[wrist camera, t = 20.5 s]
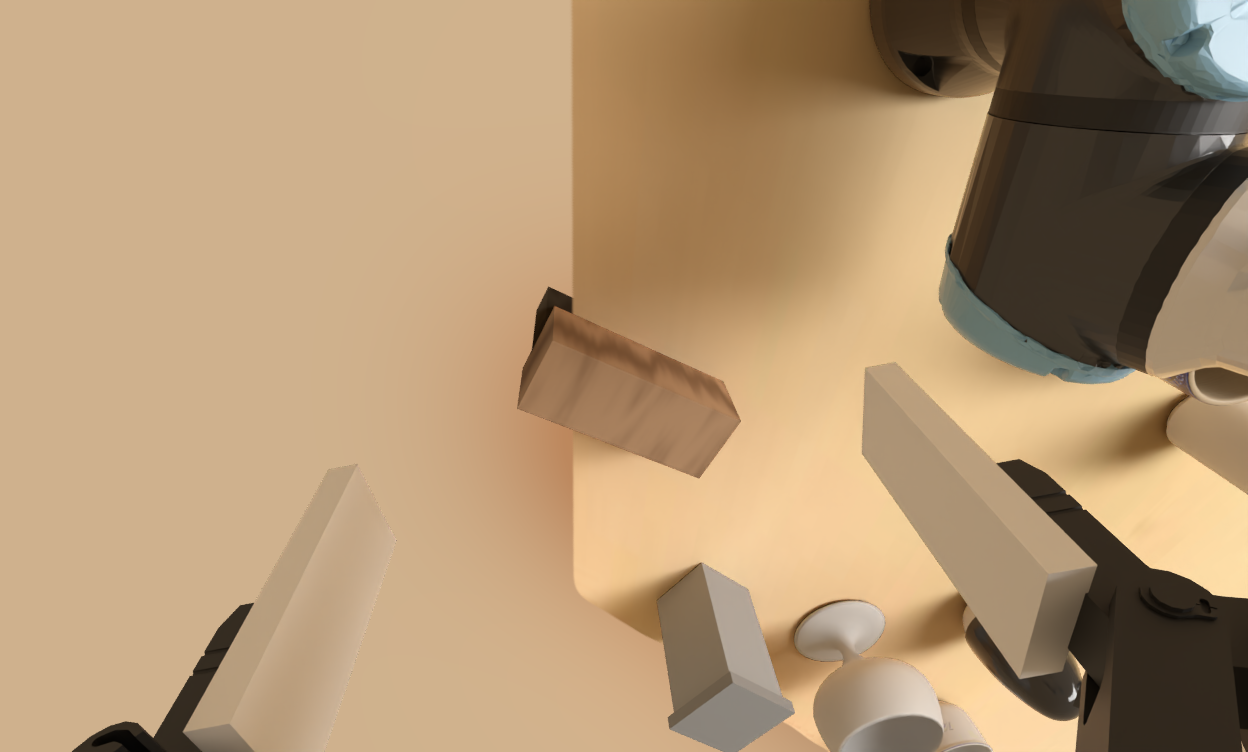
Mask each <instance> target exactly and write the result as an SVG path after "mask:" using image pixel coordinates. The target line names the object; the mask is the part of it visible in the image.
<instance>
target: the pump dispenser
mask: <svg viewBox="0 0 1248 752" xmlns="http://www.w3.org/2000/svg"><path fill="white" fill-rule="evenodd" d="M963 627H964V631H965V637H966V641H967V643H968V645H969V647H970V648H971V650H972V651H973V652H974V654H975V655H976V656H977V658H978V659H979V660H980V661H981V662H982V663H983V665H984V666H985V667H986V668H987V669H988V670H989V671H990V673H991V674H992V675H993V676H994V677H995V678H996V679H997V680H998V681H999V682H1000V683H1001V684H1002V685H1004V686H1005V687H1006V688H1007V689H1008V690H1009V691H1010V692H1012V693H1013V694H1014V695H1015V696H1016V697H1018V698H1019V699H1020V700H1021V701H1023V702H1024V703H1025V704H1027V705H1028V706H1030V707H1031V708H1032V709H1034V710H1035V711H1037V712H1039V713H1040V714H1042V715H1044V716H1046V717H1048V718H1050V719H1053V720H1058V721H1068V720H1072V719H1075V718H1077V717H1078V716H1079V708H1077V707H1074V706H1073V704H1074V701H1075V698H1076V695H1077V693H1078V690H1079V687H1080V684H1081V682H1082V677H1081V673H1080V670H1079V667H1078V664H1077V662H1076V659H1075V657H1074V656H1073V654H1072V653H1071V652H1070V651H1069V652H1068V655H1067V658H1066V661H1065V665H1064V668H1063V671H1062V672H1057V673H1051V674H1045V675H1040V676H1034V677H1029V678H1023V679H1019V678H1018V676H1017V675H1016V673H1015V672H1014V670H1013V669H1012V668H1011V666H1010V665H1009V663H1008V662H1007V660H1006V659H1005V658H1004V656H1003V655H1002V653H1001V652H1000V650H999V649H998V648H997V646H996V645H995V643H994V642H993V640H992V639H991V638H990V636H989V635H988V633H987V632H986V630H985V629H984V628H983V626H982V625H981V623H980V622H979V620H978V619H977V618H976V616H975V615H974V613H973V612H972V610H971V609H970V608H969V606H968V605H967V606H966V608H965V610H964V613H963Z"/></svg>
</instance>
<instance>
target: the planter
mask: <svg viewBox="0 0 1248 752" xmlns="http://www.w3.org/2000/svg"><path fill="white" fill-rule="evenodd" d="M1159 379H1161V380H1163V381H1164V382H1166V383H1168V384H1170V385H1171V386H1173V387H1175V388H1177V389H1178V390H1180V391H1182V392H1184V393H1185V394H1187V395H1189V396H1191V397H1193V398H1195V399H1197V400H1199V401H1201V402H1203V403H1206V404H1210V405H1216V406H1226V405H1234V404H1239V403H1243V402H1246V401H1248V376H1245V375H1242V374H1239V373H1236V372H1233V371H1230V370H1227V369H1224V368H1221V367H1211V368H1202V369H1199V370H1195V371H1191V372H1187V373H1183V374H1179V375H1175V376H1172V377H1168V378H1159Z"/></svg>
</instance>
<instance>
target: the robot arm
mask: <svg viewBox="0 0 1248 752" xmlns="http://www.w3.org/2000/svg"><path fill="white" fill-rule="evenodd" d="M870 17H871V25H872V30H873V35H874V39H875V42H876V45H877V47H878V50H879V52H880V54H881V56H882V58H883V60H884V62H885V63H886V65H887V66H888V67H889V69H890V70H891V71H892V72H893V74H894V75H895V76H896V77H898V78H899V79H900V80H901V81H902V82H904V83H905V84H907V85H908V86H910V87H912V88H914V89H915V90H918V91H920V92H924V93H927V94H932V95H938V96H944V97H952V98H965V97H974V96H980V95H984V94H988V93H991V92H994V95H993V98H992V102H991V105H990V109H989V111H988V113H987V117H986V120H985V124H984V127H983V130H982V134H981V137H980V141H979V144H978V148H977V151H976V154H975V158H974V161H973V165H972V168H971V172H970V175H969V178H968V182H967V185H966V189H965V192H964V196H963V199H962V202H961V206H960V209H959V213H958V216H957V220H956V223H955V226H954V230H953V233H952V234H951V235H950V236H949V237H948V240H947V243H946V247H945V257H946V261H945V265H944V270H943V274H942V278H941V282H940V287H939V301H940V303H941V305H942V310H943V312H944V315H945V317H946V319H947V320H948V321H949V323H950V324H951V325H952V326H953V328H954V329H955V330H956V331H957V332H958V333H959V334H960V335H962V336H963V337H964V338H965V339H966V340H968V341H969V342H970V343H972V344H973V345H975V346H976V347H978V348H979V349H981V350H983V351H984V352H986V353H988V354H989V355H991V356H993V357H995V358H997V359H999V360H1001V361H1003V362H1005V363H1007V364H1010V365H1012V366H1014V367H1017V368H1019V369H1022V370H1025V371H1028V372H1031V373H1034V374H1037V375H1041V376H1046V375H1048V374H1049V373H1052V374H1054V375H1056V376H1057V377H1059V378H1060V379H1062V380H1063V381H1066V382H1073V383H1081V384H1101V383H1111V382H1114V381H1117V380H1120V379H1122V378H1124V377H1126V376H1127V375H1128V374H1130V373H1132V372H1134V371H1135V370H1138V371H1141V372H1143V373H1146V374H1149V375H1151V376H1155V377H1158V378H1168V377H1172V376H1175V375H1179V374H1183V373H1187V372H1191V371H1195V370H1199V369H1202V368H1211V367H1221V368H1224V369H1227V370H1230V371H1233V372H1236V373H1239V374H1242V375H1245V376H1248V0H870ZM862 454H863V456H864V457H865V459H866V460H867V462H868V463H869V464H870V466H871V467H872V469H873V470H874V472H875V473H876V474H877V476H878V477H879V479H880V480H881V482H882V483H883V485H884V486H885V487H886V489H887V490H888V492H889V493H890V495H891V496H892V497H893V499H894V500H895V502H896V503H897V505H898V506H899V507H900V509H901V510H902V512H903V513H904V515H905V516H906V517H907V519H908V520H909V522H910V523H911V525H912V526H913V527H914V529H915V530H916V532H917V533H918V535H919V536H920V537H921V539H922V540H923V542H924V543H925V545H926V546H927V547H928V549H929V550H930V552H931V553H932V555H933V556H934V557H935V559H936V560H937V562H938V563H939V565H940V566H941V567H942V569H943V570H944V572H945V573H946V575H947V576H948V577H949V579H950V580H951V582H952V583H953V585H954V586H955V587H956V589H957V590H958V592H959V593H960V595H961V596H962V597H963V599H964V600H965V602H966V603H967V605H968V606H969V608H970V609H971V610H972V612H973V613H974V615H975V616H976V618H977V619H978V620H979V622H980V623H981V625H982V626H983V628H984V629H985V630H986V632H987V633H988V635H989V636H990V638H991V639H992V640H993V642H994V643H995V645H996V646H997V648H998V649H999V650H1000V652H1001V653H1002V655H1003V656H1004V658H1005V659H1006V660H1007V662H1008V663H1009V665H1010V666H1011V668H1012V669H1013V670H1014V672H1015V673H1016V675H1017V676H1018V678H1019V679H1023V678H1029V677H1034V676H1040V675H1045V674H1051V673H1057V672H1062V671H1063V668H1064V665H1065V661H1066V658H1067V655H1068V652H1069V651H1070V652H1071V653H1072V654H1073V656H1074V657H1075V658H1076V659H1077V660H1078V662H1079V663H1080V664H1081V665H1082V667H1083V668H1084V669H1085V670H1086V671H1085V674H1084V676H1083V679H1082V682H1081V684H1080V687H1079V690H1078V693H1077V695H1076V698H1075V701H1074V704H1073V706H1074V707H1077V708H1079V719H1078V730H1077V741H1076V752H1242V744H1243V746H1244V748H1245V750H1246V752H1248V599H1246V598H1234V597H1223V596H1216V595H1212V594H1211V593H1210V592H1209V591H1208V590H1206V589H1204V588H1203V587H1201V586H1200V585H1198V584H1196V583H1195V582H1193V581H1192V580H1190V579H1188V578H1185V577H1182V576H1180V575H1177V574H1174V573H1172V572H1169V571H1163V570H1157V569H1152V568H1149V567H1148V566H1147V565H1145V564H1144V563H1143V562H1142V561H1141V560H1140V559H1139V558H1138V557H1137V556H1136V555H1135V554H1133V553H1132V552H1131V551H1130V550H1129V549H1128V548H1127V547H1126V546H1125V545H1124V544H1123V543H1121V542H1120V541H1119V540H1118V539H1117V538H1116V537H1115V536H1114V535H1113V534H1112V533H1111V532H1110V531H1108V530H1107V529H1106V528H1105V527H1104V526H1103V525H1102V524H1101V523H1100V522H1099V521H1098V520H1096V519H1095V518H1094V517H1093V516H1092V515H1091V514H1090V513H1089V512H1088V511H1087V510H1083V509H1082V506H1081V505H1080V504H1079V503H1078V502H1077V501H1076V500H1075V499H1074V498H1072V497H1071V496H1070V495H1067V494H1066V491H1065V490H1064V489H1063V488H1062V487H1061V486H1059V485H1058V484H1057V483H1056V482H1055V481H1054V480H1053V479H1052V478H1051V477H1050V476H1049V475H1047V474H1046V473H1045V472H1043V471H1041V470H1039V469H1037V468H1035V467H1033V466H1031V465H1029V464H1027V463H1025V462H1024V461H1022V460H1020V459H1017V460H1012V461H1006V462H1001V463H995V462H994V461H993V460H992V459H991V458H990V457H989V456H988V455H987V454H986V453H985V452H984V451H983V450H982V449H981V448H980V447H979V446H978V445H977V444H976V443H975V442H974V441H973V440H972V439H971V438H970V437H969V436H968V435H967V434H966V433H965V432H964V431H963V430H962V429H961V428H960V427H959V426H958V425H957V424H956V423H955V422H954V421H953V420H952V419H951V418H950V417H949V416H948V415H947V414H946V413H945V412H944V411H943V410H942V409H941V408H940V407H939V406H938V405H937V404H936V403H935V402H934V401H933V400H932V399H931V398H930V397H929V396H928V395H927V394H926V393H925V392H924V391H923V390H922V389H921V388H920V387H919V386H918V385H917V384H916V383H915V382H914V381H913V380H912V379H911V378H910V377H909V375H908V374H907V373H906V372H905V371H904V370H903V369H902V368H901V367H900V366H899V365H898V364H897V363H896V362H893V363H888V364H883V365H877V366H872V367H867V368H865V384H864V410H863V435H862ZM396 541H397V540H396V538H395V536H394V535H393V532H392V531H391V529H390V527H389V525H388V523H387V521H386V519H385V517H384V515H383V513H382V511H381V509H380V507H379V505H378V503H377V502H376V499H375V497H374V495H373V493H372V491H371V489H370V488H369V485H368V483H367V482H366V480H365V478H364V476H363V474H362V472H361V470H360V468H359V466H358V464H355V465H349V466H344V467H339V468H334V469H329V470H328V471H327V473H326V475H325V477H324V478H323V480H322V482H321V484H320V486H319V487H318V489H317V491H316V493H315V495H314V496H313V498H312V500H311V502H310V504H309V505H308V507H307V509H306V511H305V513H304V515H303V517H302V518H301V520H300V522H299V523H298V525H297V527H296V529H295V531H294V533H293V534H292V536H291V538H290V540H289V542H288V543H287V545H286V547H285V549H284V550H283V552H282V554H281V556H280V558H279V560H278V562H277V563H276V565H275V567H274V569H273V570H272V572H271V574H270V576H269V578H268V579H267V581H266V583H265V585H264V587H263V588H262V590H261V592H260V594H259V596H258V597H257V599H256V601H255V603H251V604H245V605H240V606H239V607H238V608H237V609H236V610H235V611H234V612H233V614H231V616H229V618H228V619H227V620H226V621H225V622H224V623H223V624H222V625H221V626H220V627H219V628H218V630H217V631H216V633H215V635H214V636H213V638H212V640H211V641H210V643H209V645H208V647H207V648H206V650H205V655H204V656H202V657H201V658H200V660H199V662H198V663H197V665H196V667H195V668H194V670H193V676H190V677H189V679H188V680H187V682H186V684H185V686H184V687H183V689H182V690H181V692H180V694H179V696H178V697H177V699H176V701H175V702H174V704H173V706H172V708H171V709H170V711H169V713H168V714H167V716H166V718H165V719H164V721H163V723H162V725H161V726H160V728H159V729H158V731H157V733H156V734H155V736H154V738H153V737H151V736H150V735H149V734H148V733H147V732H146V731H145V730H144V729H143V728H142V727H141V726H140V725H139V724H138V723H132V722H122V723H119V724H115V725H111V726H109V727H107V728H105V729H103V730H102V731H100V732H98V733H96V734H94V735H92V736H91V737H89V738H88V739H87V740H86V741H85V742H83V743H82V744H81V745H79V746H78V747H77V748H76V749H74V750H73V751H72V752H324V751H325V748H326V745H327V742H328V740H329V737H330V734H331V731H332V728H333V725H334V722H335V719H336V716H337V713H338V710H339V707H340V705H341V702H342V699H343V695H344V693H345V690H346V687H347V684H348V681H349V678H350V675H351V672H352V669H353V666H354V663H355V661H356V658H357V655H358V652H359V649H360V646H361V643H362V640H363V637H364V634H365V631H366V628H367V626H368V622H369V620H370V617H371V614H372V611H373V607H374V605H375V602H376V599H377V596H378V593H379V590H380V587H381V584H382V582H383V579H384V576H385V573H386V570H387V567H388V564H389V561H390V558H391V555H392V552H393V549H394V546H395V544H396ZM1241 741H1242V744H1241Z"/></svg>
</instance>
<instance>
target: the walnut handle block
mask: <svg viewBox="0 0 1248 752" xmlns="http://www.w3.org/2000/svg"><path fill="white" fill-rule="evenodd" d="M517 408H518V409H520V410H523V411H525V412H528V413H531V414H533V415H536V416H538V417H541V418H543V419H546V420H549V421H551V422H554V423H556V424H559V425H562V426H564V427H567V428H569V429H572V430H575V431H577V432H580V433H582V434H585V435H588V436H590V437H593V438H595V439H598V440H601V441H603V442H606V443H608V444H611V445H613V446H616V447H619V448H621V449H624V450H626V451H629V452H632V453H634V454H637V455H639V456H642V457H645V458H647V459H650V460H652V461H655V462H658V463H660V464H663V465H665V466H668V467H671V468H673V469H676V470H678V471H681V472H684V473H686V474H689V475H691V476H694V477H697V478H700V477H701V475H702V474H703V473H704V471H705V470H706V468H707V467H708V466H709V464H710V463H711V462H712V460H713V459H714V457H715V456H716V455H717V453H718V452H719V451H720V449H721V448H722V447H723V445H724V444H725V442H726V441H727V440H728V438H729V437H730V436H731V434H732V433H733V431H734V430H735V429H736V427H737V426H738V425H739V423H740V422H741V420H740V418H739V416H738V414H737V411H736V409H735V407H734V405H733V402H732V400H731V398H730V396H729V393H728V391H727V389H726V387H725V384H724V382H723V381H721V380H719V379H716V378H714V377H712V376H710V375H707V374H705V373H703V372H701V371H698V370H696V369H694V368H692V367H690V366H687V365H685V364H683V363H681V362H678V361H676V360H674V359H672V358H669V357H667V356H665V355H663V354H661V353H658V352H656V351H654V350H652V349H649V348H647V347H645V346H643V345H641V344H638V343H636V342H634V341H632V340H629V339H627V338H625V337H623V336H620V335H618V334H616V333H614V332H612V331H609V330H607V329H605V328H603V327H600V326H598V325H596V324H594V323H591V322H589V321H587V320H585V319H583V318H580V317H578V316H576V315H574V314H573V298H572V297H570V296H568V295H566V294H564V293H561V292H559V291H557V290H555V289H553V288H551V287H548V288H547V290H546V293H545V294H544V296H543V298H542V301H541V302H540V304H539V306H538V309H537V310H536V319H535V327H534V335H533V344H532V351H531V353H530V355H529V357H528V359H527V361H526V363H525V365H524V367H523V371H522V378H521V385H520V392H519V400H518V407H517Z"/></svg>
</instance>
